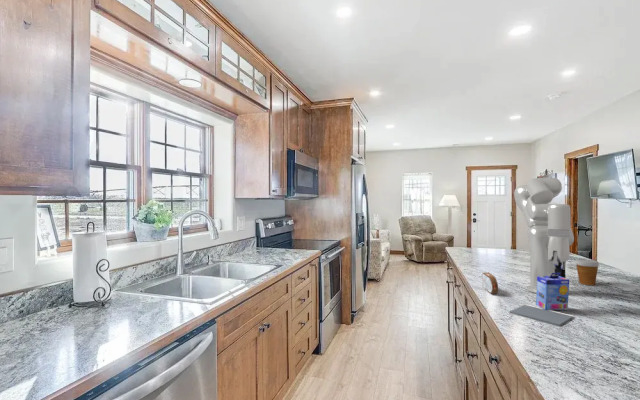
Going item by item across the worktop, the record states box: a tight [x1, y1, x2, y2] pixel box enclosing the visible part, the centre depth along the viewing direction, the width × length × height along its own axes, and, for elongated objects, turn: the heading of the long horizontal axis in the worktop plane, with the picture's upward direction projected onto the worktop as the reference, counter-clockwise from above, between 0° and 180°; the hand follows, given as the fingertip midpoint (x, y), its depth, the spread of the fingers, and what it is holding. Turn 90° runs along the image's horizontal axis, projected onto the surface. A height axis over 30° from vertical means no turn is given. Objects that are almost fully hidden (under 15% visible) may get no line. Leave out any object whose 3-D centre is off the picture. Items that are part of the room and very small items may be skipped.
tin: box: [481, 271, 499, 295], centre depth 149 cm, size 15×3×8 cm, turn 168°
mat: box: [509, 304, 574, 327], centre depth 117 cm, size 14×16×1 cm
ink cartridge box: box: [535, 273, 570, 311], centre depth 123 cm, size 10×6×14 cm, turn 95°
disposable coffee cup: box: [574, 259, 600, 286], centre depth 161 cm, size 10×10×12 cm
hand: (560, 278), depth 127 cm, fingers closed
